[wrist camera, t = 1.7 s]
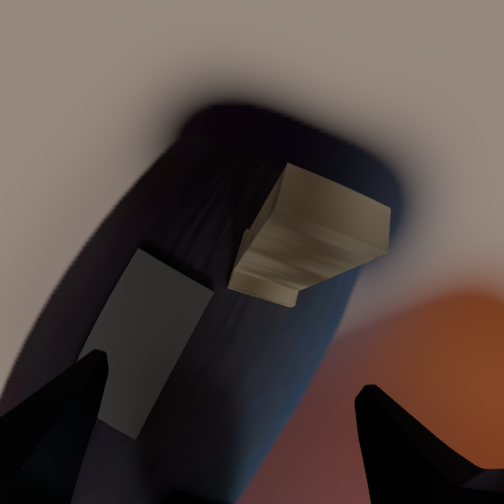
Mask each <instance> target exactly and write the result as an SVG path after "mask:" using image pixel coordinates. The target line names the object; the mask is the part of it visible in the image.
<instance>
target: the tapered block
mask: <svg viewBox="0 0 504 504" xmlns="http://www.w3.org/2000/svg"><path fill="white" fill-rule="evenodd" d="M390 212H391V209H390V208H389V207H387V206H385V205H383V204H381V203H378V202H377V201H375V200H372V199H370V198H368V197H366V196H364V195H362V194H360V193H358V192H355V191H353V190H351V189H349V188H347V187H344V186H342V185H340V184H338V183H335V182H333V181H331V180H328V179H326V178H324V177H321V176H319V175H316V174H314V173H312V172H309V171H307V170H304V169H302V168H299V167H297V166H294V165H292V164H289V163H287V165H286V167H285V169H284V170H283V172H282V174H281V175H280V177H279V179H278V181H277V182H276V184H275V186H274V188H273V189H272V191H271V193H270V195H269V196H268V198H267V200H266V201H265V203H264V205H263V207H262V208H261V210H260V212H259V214H258V215H257V217H256V219H255V221H254V222H253V224H252V226H251V228H250V230H249V229H246V230H245V232H244V235H243V238H242V241H241V244H240V247H239V251H238V254H237V257H236V260H235V263H234V267H233V270H232V273H231V276H230V280H229V283H228V286H227V288H229V289H232V290H235V291H238V292H242V293H245V294H248V295H251V296H254V297H257V298H261V299H264V300H267V301H270V302H274V303H277V304H280V305H284V306H287V307H293V306H295V303H296V299H297V295H298V291H300V290H302V289H305V288H307V287H310V286H312V285H314V284H317V283H319V282H322V281H324V280H327V279H329V278H331V277H334V276H336V275H338V274H341V273H343V272H345V271H348V270H350V269H352V268H355V267H357V266H359V265H361V264H364V263H366V262H368V261H370V260H373V259H375V258H377V257H379V256H381V255H384V254H386V253H388V243H389V230H390Z"/></svg>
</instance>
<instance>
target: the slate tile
mask: <svg viewBox="0 0 504 504" xmlns="http://www.w3.org/2000/svg"><path fill="white" fill-rule="evenodd" d="M213 294H214V292H213V291H211V290H210V289H208V288H206V287H204V286H202V285H201V284H199V283H197V282H195V281H194V280H192V279H190V278H188V277H187V276H185V275H183V274H181V273H180V272H178V271H176V270H174V269H173V268H171V267H169V266H168V265H166V264H164V263H163V262H161V261H159V260H158V259H156V258H154V257H153V256H151V255H149V254H148V253H146V252H144V251H143V250H141V249H139V248H138V250H137V251H136V253H135V255H134V256H133V258H132V259H131V261H130V263H129V264H128V266H127V268H126V269H125V271H124V273H123V274H122V276H121V278H120V280H119V281H118V283H117V285H116V286H115V288H114V290H113V292H112V294H111V295H110V297H109V299H108V301H107V303H106V304H105V306H104V308H103V310H102V312H101V314H100V315H99V317H98V319H97V321H96V323H95V325H94V327H93V329H92V331H91V333H90V335H89V337H88V339H87V341H86V343H85V345H84V347H83V349H82V351H81V353H80V355H79V358H78V360H79V359H81V358H82V357H83V356H85V355H86V354H88V353H89V352H90V351H92V350H93V349H98V350H102V351H105V352H106V353H107V359H108V366H109V373H108V378H107V381H106V385H105V389H104V393H103V397H102V402H101V406H100V410H99V414H98V418H99V419H101V420H102V421H104V422H105V423H107V424H109V425H110V426H112V427H114V428H115V429H117V430H119V431H120V432H122V433H124V434H125V435H127V436H129V437H131V438H133V439H134V440H136V439H137V437H138V435H139V433H140V431H141V429H142V427H143V425H144V423H145V421H146V419H147V417H148V415H149V413H150V412H151V410H152V408H153V406H154V404H155V402H156V400H157V398H158V396H159V394H160V393H161V391H162V389H163V387H164V385H165V383H166V381H167V379H168V377H169V375H170V374H171V372H172V370H173V368H174V366H175V364H176V362H177V360H178V359H179V357H180V355H181V353H182V351H183V349H184V347H185V345H186V344H187V342H188V340H189V338H190V336H191V334H192V332H193V331H194V329H195V327H196V325H197V323H198V321H199V320H200V318H201V316H202V314H203V312H204V310H205V308H206V307H207V305H208V303H209V301H210V299H211V297H212V296H213ZM78 360H77V361H78Z"/></svg>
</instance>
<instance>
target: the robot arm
mask: <svg viewBox="0 0 504 504" xmlns="http://www.w3.org/2000/svg"><path fill="white" fill-rule="evenodd" d="M108 373H109V366H108V359H107V353H106V352H105V351H102V350H98V349H93V350H92V351H90V352H89V353H88V354H86V355H85V356H83V357H82V358H81V359H79V360H78V361H77V362H75V363H74V364H72V365H71V366H70V367H68V368H67V369H66V370H64V371H63V372H61V373H60V374H59V375H57V376H56V377H55V378H53V379H52V380H50V381H49V382H48V383H46V384H45V385H44V386H42V387H41V388H40V389H38V390H37V391H35V392H34V393H33V394H31V395H30V396H29V397H27V398H26V399H25V400H23V401H22V403H19V404H18V405H16V406H15V407H14V408H12V409H11V410H10V411H8V412H7V413H5V414H4V415H2V416H1V417H0V504H71V500H72V496H73V492H74V489H75V485H76V481H77V478H78V474H79V471H80V468H81V464H82V461H83V458H84V455H85V452H86V449H87V446H88V443H89V440H90V437H91V434H92V431H93V428H94V425H95V422H96V420H97V417H98V414H99V410H100V406H101V402H102V397H103V393H104V389H105V385H106V381H107V378H108ZM355 412H356V421H357V430H358V438H359V443H360V447H361V452H362V457H363V462H364V467H365V473H366V478H367V483H368V489H369V495H370V501H371V504H504V469H483V468H480V467H478V466H476V465H474V464H473V463H471V462H470V461H468V460H467V459H465V458H464V457H462V456H461V455H460V454H458V453H457V452H455V451H454V450H452V449H451V448H450V447H448V446H447V445H446V444H445V443H444V442H442V441H441V440H440V439H439V438H437V437H436V436H435V435H434V434H433V433H431V432H430V431H429V430H428V429H427V428H426V427H424V426H423V425H422V424H421V423H420V422H419V421H417V420H416V419H415V418H414V417H413V416H411V415H410V414H409V413H408V412H407V411H406V410H405V409H403V408H402V407H401V406H400V405H399V404H398V403H396V402H395V401H394V400H393V399H392V398H391V397H389V396H388V395H387V394H386V393H385V392H384V391H382V390H381V389H380V388H379V387H378V386H377V385H374V384H372V385H371V384H370V385H366V386H364V387H363V389H362V390H361V391H360V393H359V394H358V395H357V397H356V398H355ZM174 495H178V496H174ZM160 504H163V503H160ZM164 504H214V503H211V502H207V501H204V500H201V499H198V498H196V497H193V496H190V495H187V494H184V493H182V492H179V491H172V492H171V493H170V494H169V496H168V497H167V499H166V501H165V502H164Z"/></svg>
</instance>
